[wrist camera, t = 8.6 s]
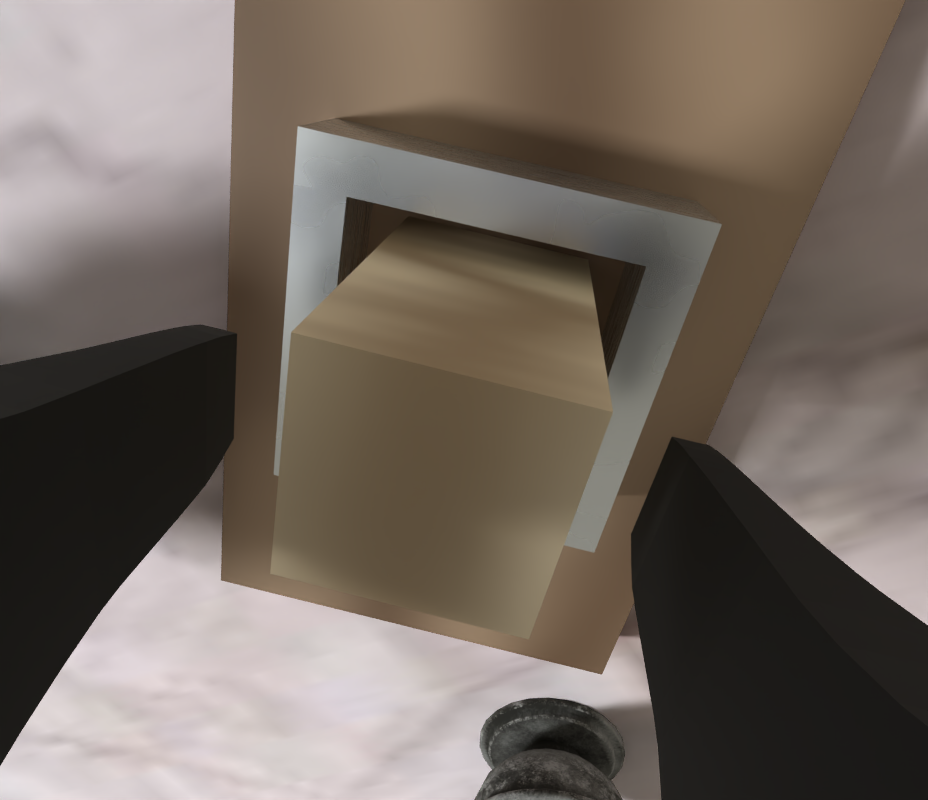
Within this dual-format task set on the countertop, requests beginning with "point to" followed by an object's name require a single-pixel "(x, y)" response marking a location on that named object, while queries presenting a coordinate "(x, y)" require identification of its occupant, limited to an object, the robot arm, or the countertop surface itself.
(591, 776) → the salt shaker
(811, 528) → the countertop surface
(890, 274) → the countertop surface
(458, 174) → the square socket
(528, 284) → the maple peg
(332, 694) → the countertop surface
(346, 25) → the board
